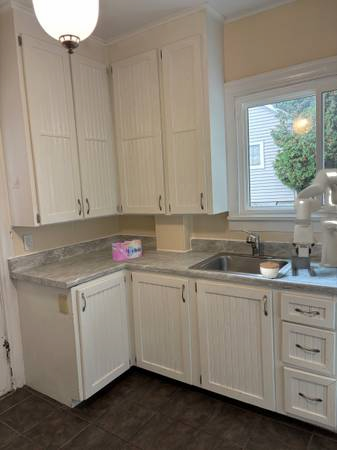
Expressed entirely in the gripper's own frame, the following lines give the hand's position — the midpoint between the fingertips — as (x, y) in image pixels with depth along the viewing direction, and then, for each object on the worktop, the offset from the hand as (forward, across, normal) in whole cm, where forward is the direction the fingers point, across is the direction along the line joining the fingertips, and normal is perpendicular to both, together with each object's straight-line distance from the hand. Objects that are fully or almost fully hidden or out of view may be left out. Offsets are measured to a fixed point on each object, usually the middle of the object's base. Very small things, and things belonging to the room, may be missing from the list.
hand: (303, 254), depth 185 cm
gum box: (+15, -126, +37) cm, 132 cm away
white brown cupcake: (+15, -18, +1) cm, 23 cm away
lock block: (+1, 0, 0) cm, 1 cm away
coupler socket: (+14, 0, +14) cm, 20 cm away
